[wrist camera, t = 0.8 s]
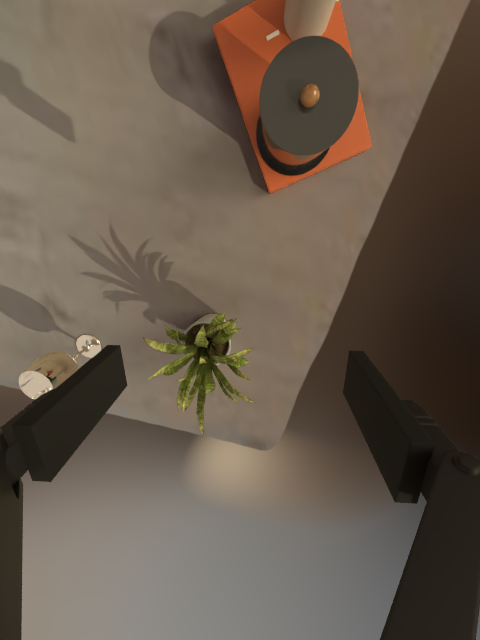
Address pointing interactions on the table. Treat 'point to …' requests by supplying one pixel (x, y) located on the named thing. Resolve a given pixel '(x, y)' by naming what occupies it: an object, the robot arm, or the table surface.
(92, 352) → the wineglass
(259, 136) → the burner
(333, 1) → the hob knob
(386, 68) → the table surface
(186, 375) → the house plant
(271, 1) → the hot plate
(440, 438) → the robot arm
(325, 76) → the enamel pot
